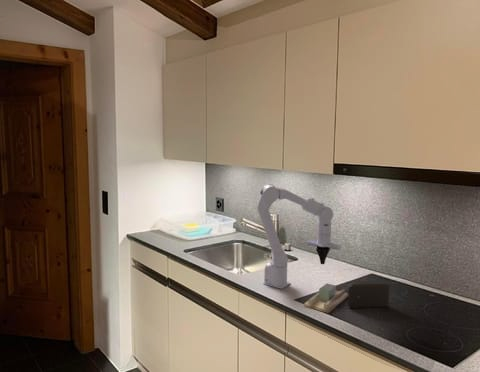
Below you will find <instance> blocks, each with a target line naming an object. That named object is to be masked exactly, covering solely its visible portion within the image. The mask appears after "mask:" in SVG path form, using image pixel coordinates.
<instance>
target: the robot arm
mask: <svg viewBox="0 0 480 372" xmlns="http://www.w3.org/2000/svg"><path fill="white" fill-rule="evenodd" d="M277 200H288V201H290V202H293V203H295V204H297V205H299V206H300V207H301V210H303V211H305V212H307V213H310V214H311V215H314V216H317V231H316V233H317V234H316V240H310V239H309V240H307V241H306V246H308V247H316V249H315V251H316V253H317V255H318V258H319V263H320V264H321V265H325V263H326V260H327V256H328V255H329V253H330V250H331V249H332V250H337V251H340V250H341V247H342V245H341V244H337V243H335V242H334V243H333V242H331V240H332V239H331V236H332V235H331V234H332V219H333V218H334V212H333V210H332V208H330V206H328V205H326V204H325V203H324V202H319V201H317V200H315V198H313V197H312V196H311V197H305V198H303V197H302V196H299V195H298V194H296V193H294V192H291V190H287V189H286V188H284V187H280V186H278V185H276V186H275V185H274V184H272V183H267V184H265V185H264V186H263V187H262V188H261V190H260V191H259V197H258V201H257V205H256V209H257V212H258V215H259V219H260V221H261V223H262V226H263V230H264V232H265V235H266V238H267V240H268V244H269V247H270V251H271V252H270V256H271V258H272V260H271V262H267V263H266V265H265V266H264V278H263V279H264V282H262V283H263V285H266V286H269V287H270V286H271V287H272V288H273V287H274V288H277V289H281V290H282V289H284V288H285V287H288V286H289V285H290V284H291V282H290V281H288V261H289V258H288V255H287V254H286V252H285V250H284V248H283V247H282V245H281V242H280V239H279V236H278V233H277V229H276V227H275V224H274V221H273V219H272V215H271V213H270V209H271V206H272V205H273V204H274V203H275V202H276V201H277Z"/></svg>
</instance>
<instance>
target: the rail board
mask: <svg viewBox="0 0 480 372" xmlns="http://www.w3.org/2000/svg"><path fill="white" fill-rule="evenodd" d="M346 298H348V293H347V292H346V290H345V289H344V288H343V289H341V290H337V289H336V295H335V296H334V297H332V298H331V299H330V300H329V301H328V302H326V301H322V300H319V291H318V292H317V293H316V294H314V295H313V296H312V297H310V298H308V300H306V301H305V302H304V303H303V306H304V307H305V308H309V307H310V308H309V309H312V308H313V310H317V311H320V312H323V313H327V314H329V313H330V312H332V311H333V310H334V309H335V308H336V307H337V306H338V305H339V304H340V303H342V302H343V301H344V300H345V299H346Z"/></svg>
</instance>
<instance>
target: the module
mask: <svg viewBox="0 0 480 372" xmlns="http://www.w3.org/2000/svg"><path fill="white" fill-rule="evenodd" d="M318 290H319V291H318V292H319V300H322V301H326V302H328V301H329V300H330V299H331V298H332V297H334V296H335V295H336V290H337V285H335V284H330V283H325V284H323V286H321V287H319V289H318Z"/></svg>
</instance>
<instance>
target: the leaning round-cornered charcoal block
mask: <svg viewBox="0 0 480 372" xmlns="http://www.w3.org/2000/svg"><path fill="white" fill-rule="evenodd" d="M390 291H391V287H390V284H389V283H387V282H382V281H376V280H375V281H374V280H373V281H372V280H371V281H370V280H364V281H363V280H361V281H357V282H356V281H355V282H353V283H351V284H349V286H348V296H347V307H348V308H350V309H367V308H386V307H388V306H389V304H390V293H391V292H390Z"/></svg>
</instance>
